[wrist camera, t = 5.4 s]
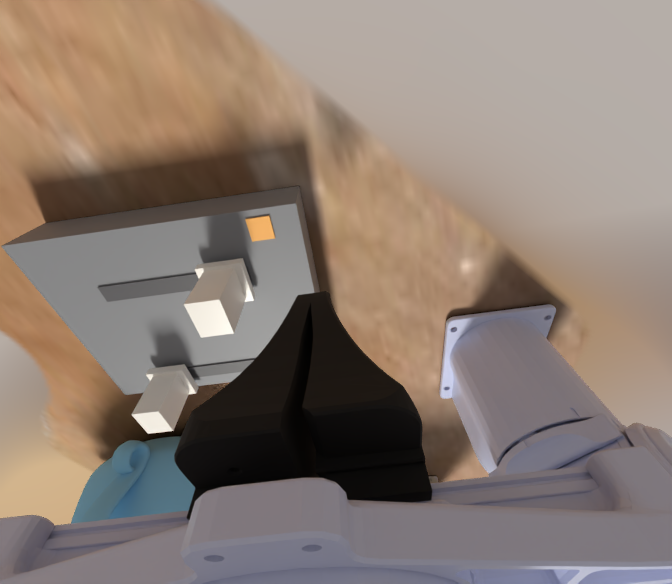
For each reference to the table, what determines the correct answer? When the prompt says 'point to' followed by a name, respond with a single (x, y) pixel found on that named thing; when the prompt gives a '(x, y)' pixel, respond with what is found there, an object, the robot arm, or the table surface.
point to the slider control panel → (170, 280)
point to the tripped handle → (219, 297)
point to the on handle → (164, 398)
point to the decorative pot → (136, 483)
